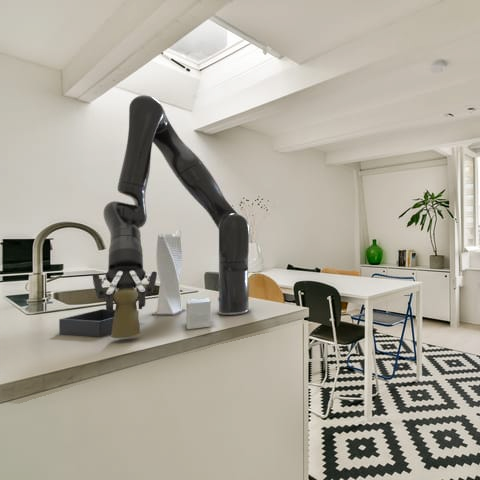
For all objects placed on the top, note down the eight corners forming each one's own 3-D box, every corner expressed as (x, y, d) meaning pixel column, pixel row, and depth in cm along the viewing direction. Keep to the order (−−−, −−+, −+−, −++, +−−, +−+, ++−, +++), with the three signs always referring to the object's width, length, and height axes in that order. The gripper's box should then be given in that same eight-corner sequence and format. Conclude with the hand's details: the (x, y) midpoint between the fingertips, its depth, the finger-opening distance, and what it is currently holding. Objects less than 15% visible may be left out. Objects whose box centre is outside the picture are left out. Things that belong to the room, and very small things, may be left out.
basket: (102, 322, 99) (102, 308, 99) (138, 324, 97) (138, 310, 97) (59, 334, 87) (59, 319, 87) (99, 336, 85) (99, 321, 85)
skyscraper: (188, 310, 115) (188, 229, 114) (176, 316, 107) (176, 228, 106) (164, 310, 115) (164, 229, 114) (149, 315, 106) (149, 228, 106)
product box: (210, 327, 94) (210, 301, 94) (186, 329, 92) (186, 303, 91) (209, 322, 100) (209, 297, 100) (186, 324, 97) (186, 299, 97)
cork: (125, 338, 79) (125, 292, 79) (104, 336, 80) (104, 291, 80) (146, 331, 85) (146, 288, 84) (126, 329, 86) (126, 287, 86)
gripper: (91, 247, 84) (87, 303, 74) (157, 246, 92) (161, 296, 83) (92, 266, 88) (89, 321, 79) (156, 264, 97) (159, 313, 87)
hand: (126, 308), depth 81 cm, fingers closed on cork, 5 cm apart
